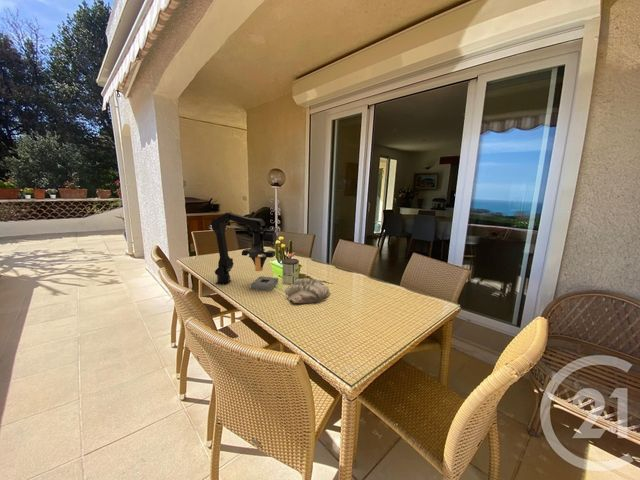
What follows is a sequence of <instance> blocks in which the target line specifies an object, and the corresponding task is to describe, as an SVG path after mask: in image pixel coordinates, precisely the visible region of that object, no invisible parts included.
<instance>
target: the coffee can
mask: <svg viewBox="0 0 640 480" xmlns="http://www.w3.org/2000/svg"><path fill="white" fill-rule="evenodd" d="M281 262H282V281H281V282H282V284H284V285H287V286H291V285H295V281H296V280H297V279H299V266H300V265H299V263H300V261H299V259H297V258H284V259H283V260H282V261H281Z"/></svg>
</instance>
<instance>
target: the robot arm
mask: <svg viewBox="0 0 640 480" xmlns="http://www.w3.org/2000/svg"><path fill="white" fill-rule="evenodd" d="M230 221H232V222H236V223H239V224H242V225H245V226H248V227H249V228H250V229H251V230H250V231H249V234H252V237H253V238H252V242H253V243H252V244H251V248H245V249H242V250H241V256H248V258H250V259H251V260H252V262H253V264H254V266H255V257H257V256H260V258H261V268H262V267H263V268H264V264H265V263H266V260H267V258H268V259H269V258H270V259H271V258H274V257H275V256H276V251H275V250H268V251H267V250H266V249H265V247H264V245H265V242H266V243H276V242H277V239H278V235H277V232H276V230H275V229H274V230H273V229H272V230H271V229H269V227H268V226H267V225H266V223H265V221H264V219H262V218H256V217H255V218H254V217H253V218H252V217H247V216H244V215H241V214H237V213H234V212H232V211H229V212H225V213H224V214H222V215H220V216H218V217H217V218H213V219H212V220H211V221H210V225H211V229H212V230H213V233H215V235H216V236H215V237H216V242H217V249H218V254H219V259H218V263H217V268H216V269H215V270H214V274H215V275H216V278H217V279H216V280H217V281H216V282H215V284H216V285H224V286H225V285H228V284H229V283H230V282H232V279H231V275H230V272H232V271H231V270H232V268H233V267H234V262H233V261H234V259H233V257H230V256H229V252H228V250H229V249H228V245H227V238H226V229H227V224H228V223H229V222H230ZM265 250H266V251H265Z"/></svg>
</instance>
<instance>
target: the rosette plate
mask: <svg viewBox="0 0 640 480" xmlns="http://www.w3.org/2000/svg"><path fill="white" fill-rule="evenodd" d="M278 283H279V277H273V276H272V277H271V276H264V275H262V276H261V275H259V277H257V278H256V279H254V280H253V281H252V282H251V283H250V287H249V288H250V290H257V291H266V292H267V291H268V292H271V291H272V290H273V289H274V288H275V287H276V286H277V285H278Z"/></svg>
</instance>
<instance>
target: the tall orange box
mask: <svg viewBox="0 0 640 480" xmlns="http://www.w3.org/2000/svg"><path fill="white" fill-rule="evenodd" d="M260 257H261V255H258V256H257V257H255V265H254V268H255V269H254V271H255V272H262V271H263V269H264V266H263V267H262V268H261V258H260Z"/></svg>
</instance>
